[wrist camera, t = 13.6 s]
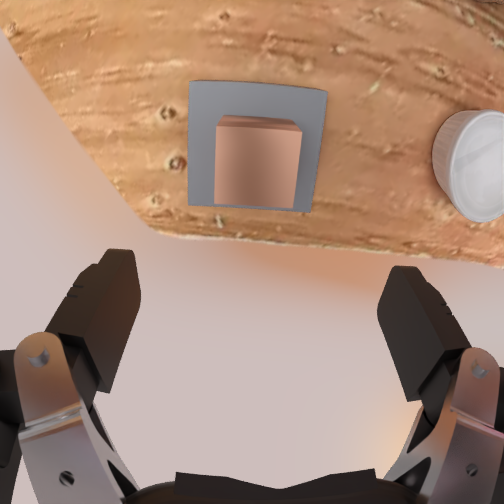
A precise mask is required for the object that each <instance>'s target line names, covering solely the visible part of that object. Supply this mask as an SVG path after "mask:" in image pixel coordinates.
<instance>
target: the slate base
mask: <svg viewBox="0 0 504 504" xmlns="http://www.w3.org/2000/svg"><path fill="white" fill-rule="evenodd" d="M327 94H328V92H327V91H324V90H320V89H316V88H309V87H301V86H293V85H284V84H274V83H262V82H248V81H227V80H195V81H189V109H188V205H192V206H214V207H233V208H250V209H266V210H281V211H294V212H307V213H310V211H311V205H312V199H313V193H314V187H315V181H316V174H317V168H318V161H319V154H320V147H321V140H322V133H323V126H324V118H325V110H326V102H327ZM223 115H238V116H256V117H270V118H282V119H292V120H293V122H294V123H295V124H296V125H297V126H298V127H299V129H300V130H301V131H302V139H301V148H300V156H299V164H298V172H297V180H296V188H295V196H294V203H293V208H279V207H264V206H247V205H228V204H214V188H215V149H216V126H217V124H218V123H219V121H220V119H221V118H222V116H223Z"/></svg>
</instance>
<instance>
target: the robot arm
mask: <svg viewBox="0 0 504 504" xmlns="http://www.w3.org/2000/svg"><path fill="white" fill-rule="evenodd" d="M476 1H479V2H497V3H498V4H504V0H476ZM140 302H141V290H140V284H139V279H138V273H137V267H136V261H135V255H134V253H133V251H132V250H125V249H108V250H107V251H106V252H105V254H104V255H103V257H102V258H101V260H100V261H99V263H98V264H91V265H90V266H89V267H88V268H86V269H85V270H84V271H82V272H81V273H80V274H79V276H78V277H77V279H76V280H75V282H74V283H73V287H71V288H70V290H69V291H68V293H67V297H65V298H64V299H63V301H62V303H61V304H60V306H59V307H58V309H57V311H56V312H55V314H54V316H53V318H52V319H51V321H50V323H49V324H48V326H47V328H46V330H45V331H44V332H38V333H34V334H32V335H29V336H28V337H26V338H25V339H24V340H22V341H21V342H20V343H19V345H18V346H17V348H16V350H2V351H0V504H11V500H12V495H13V490H14V486H15V481H16V476H17V472H18V468H19V464H20V460H21V456H22V455H23V458H24V462H25V465H26V468H27V471H28V475H29V478H30V481H31V483H32V486H33V489H34V492H35V494H36V497H37V500H38V503H39V504H504V368H503V367H499V366H498V364H497V362H496V360H495V359H494V357H493V356H491V354H489V353H488V352H487V351H485V350H483V349H481V348H475V347H472V346H471V345H470V343H469V341H468V339H467V338H466V336H465V334H464V332H463V331H462V329H461V327H460V325H459V323H458V322H457V320H456V319H455V317H454V315H452V312H451V310H450V308H449V307H448V306H446V304H447V303H446V302H445V300H444V299H443V297H442V295H441V294H440V292H439V291H437V290H436V289H435V288H434V287H433V286H432V285H431V284H430V283H428V282H427V281H426V280H425V278H424V277H423V275H422V273H421V272H420V270H419V269H418V268H417V267H413V266H394V267H393V268H392V269H391V271H390V274H389V277H388V279H387V282H386V285H385V287H384V290H383V293H382V295H381V298H380V300H379V303H378V308H377V316H378V321H379V324H380V327H381V329H382V332H383V334H384V337H385V340H386V342H387V345H388V348H389V350H390V353H391V356H392V358H393V361H394V364H395V367H396V370H397V372H398V375H399V378H400V381H401V384H402V387H403V390H404V393H405V396H406V399H407V402H409V401H416V400H422V404H423V405H422V406H421V408H420V409H419V411H418V413H417V416H416V418H415V421H414V423H413V426H412V428H411V431H410V433H409V435H408V438H407V440H406V443H405V445H404V447H403V449H402V451H401V453H400V455H399V457H398V459H397V461H396V462H395V464H394V465H393V466H392V467H391V468H390V470H389V471H388V472H387V474H386V475H385V477H384V478H383V479H377V478H376V475H375V469H374V468H373V469H368V470H361V471H354V472H347V473H338V474H330V475H327V476H324V477H321V478H318V479H315V480H312V481H308V482H305V483H302V484H298V485H295V486H291V487H288V488H284V489H275V488H270V487H265V486H261V485H257V484H252V483H248V482H244V481H240V480H236V479H233V478H229V477H223V476H209V475H198V474H189V473H180V472H176V478H175V481H173V482H165V483H160V484H155V485H152V486H149V487H146V488H143V489H141V490H140V488H139V487H138V485H137V483H136V482H135V480H134V478H133V477H132V475H131V473H130V472H129V470H128V469H127V467H126V466H125V464H124V463H123V461H122V460H121V458H120V456H119V455H118V453H117V451H116V449H115V447H114V445H113V443H112V441H111V439H110V437H109V435H108V433H107V430H106V428H105V426H104V424H103V422H102V419H101V417H100V415H99V413H98V410H97V408H96V406H95V404H94V402H93V400H94V397H95V394H96V391H100V392H105V393H110V391H111V388H112V385H113V381H114V378H115V375H116V372H117V369H118V366H119V363H120V360H121V357H122V354H123V352H124V349H125V346H126V343H127V341H128V338H129V335H130V332H131V329H132V326H133V324H134V321H135V319H136V316H137V313H138V311H139V308H140Z"/></svg>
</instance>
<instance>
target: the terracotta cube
mask: <svg viewBox="0 0 504 504" xmlns="http://www.w3.org/2000/svg"><path fill="white" fill-rule="evenodd" d="M301 139H302V131H301V130H300V129H299V127H298V126H297V125H296V124H295V123H294V122H293V120H292V119H282V118H270V117H256V116H238V115H223V116H222V118H221V119H220V121H219V123H218V124H217V126H216V149H215V188H214V204H228V205H247V206H264V207H279V208H293V203H294V196H295V188H296V180H297V172H298V164H299V156H300V148H301Z"/></svg>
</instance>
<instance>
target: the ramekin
mask: <svg viewBox="0 0 504 504" xmlns="http://www.w3.org/2000/svg"><path fill="white" fill-rule="evenodd" d="M432 163H433V169H434V174H435V176H436V179H437V181H438V183H439V185H440V186H441V188H442V189H443V191H444V192H445V193H446V194H447V196H448V197H449V198H450V200H451V202H452V204H453V205H454V207H455V208H456V209H457V210H458V212H460V213H461V214H462V215H463V216H464V217H466V218H467V219H469V220H471V221H474V222H479V223H483V222H490V221H492V220H494V219H496V218H498V217H500V216H501V215H502V214H504V113H502V112H500V111H497V110H492V109H485V110H480V111H478V110H465V111H460V112H458V113H455V114H454V115H452V116H451V117H450V118H448V119H447V120H446V121H445V122H444V123H443V125H442V126H441V128H440V129H439V131H438V133H437V136H436V138H435V141H434V144H433V150H432Z"/></svg>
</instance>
